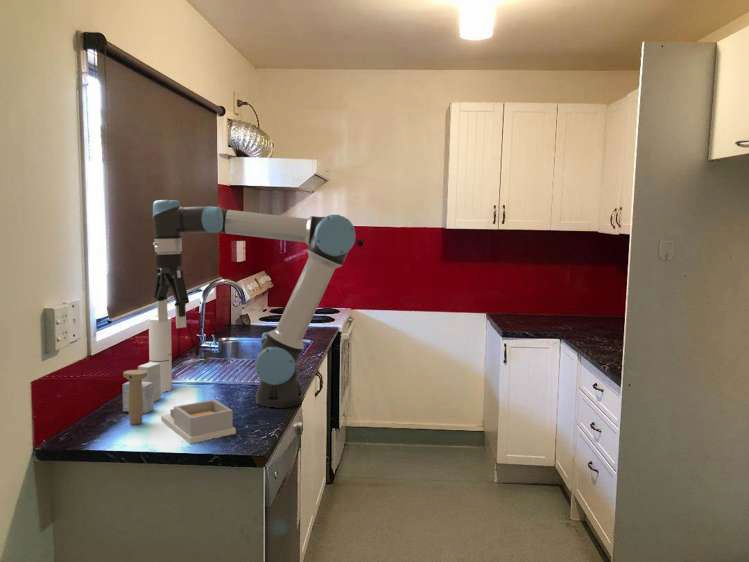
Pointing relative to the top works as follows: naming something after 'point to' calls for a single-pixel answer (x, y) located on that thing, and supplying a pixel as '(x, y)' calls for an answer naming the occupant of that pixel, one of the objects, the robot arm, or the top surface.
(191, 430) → the switch panel
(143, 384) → the medicine box
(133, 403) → the handle
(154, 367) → the skincare box
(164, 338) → the cylindrical container
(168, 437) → the top surface
